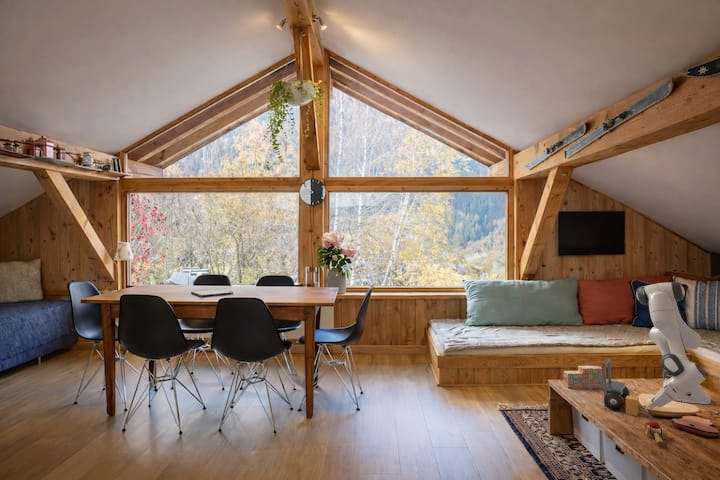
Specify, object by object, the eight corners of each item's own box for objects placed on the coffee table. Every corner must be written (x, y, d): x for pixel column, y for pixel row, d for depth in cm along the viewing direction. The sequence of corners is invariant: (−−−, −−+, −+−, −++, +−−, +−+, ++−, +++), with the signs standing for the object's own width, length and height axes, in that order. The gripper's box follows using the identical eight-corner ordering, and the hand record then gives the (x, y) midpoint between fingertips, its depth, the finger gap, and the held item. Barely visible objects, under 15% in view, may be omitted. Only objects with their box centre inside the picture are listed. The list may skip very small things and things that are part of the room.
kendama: (673, 452, 188) (662, 429, 205) (670, 438, 188) (659, 416, 205) (653, 452, 191) (643, 430, 208) (649, 438, 191) (640, 417, 208)
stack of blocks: (568, 388, 269) (567, 368, 269) (563, 385, 275) (563, 365, 275) (603, 388, 268) (603, 368, 269) (598, 385, 275) (597, 365, 275)
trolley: (630, 401, 245) (628, 359, 246) (623, 412, 229) (621, 367, 230) (610, 397, 252) (609, 356, 252) (602, 408, 235) (601, 364, 236)
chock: (638, 412, 229) (638, 397, 229) (637, 415, 225) (636, 400, 225) (627, 410, 232) (627, 395, 232) (626, 413, 228) (625, 398, 228)
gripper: (670, 378, 227) (648, 393, 233) (665, 388, 211) (642, 405, 217) (681, 388, 224) (658, 404, 230) (677, 400, 208) (653, 416, 214)
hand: (650, 404), depth 223 cm, fingers open, 8 cm apart
